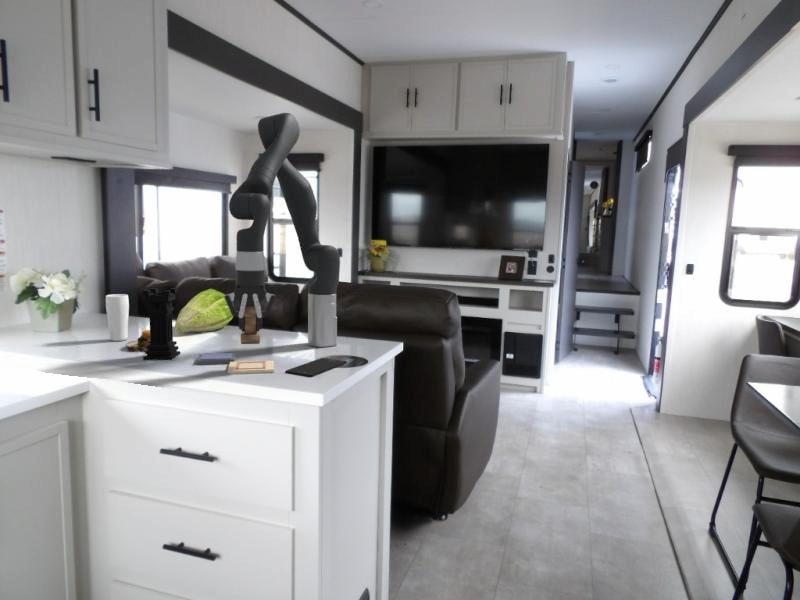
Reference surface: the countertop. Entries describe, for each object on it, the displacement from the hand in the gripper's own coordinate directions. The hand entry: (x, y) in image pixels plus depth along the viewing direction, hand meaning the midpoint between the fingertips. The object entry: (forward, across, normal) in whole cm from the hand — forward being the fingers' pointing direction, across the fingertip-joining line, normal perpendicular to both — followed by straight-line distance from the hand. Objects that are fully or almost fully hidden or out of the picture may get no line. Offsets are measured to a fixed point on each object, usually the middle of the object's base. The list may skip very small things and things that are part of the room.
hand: (250, 330), depth 152 cm
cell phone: (+11, -18, +1) cm, 21 cm away
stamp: (+3, 0, 0) cm, 3 cm away
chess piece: (+11, +26, -17) cm, 33 cm away
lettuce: (+11, +20, -58) cm, 62 cm away
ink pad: (+11, +10, -10) cm, 17 cm away
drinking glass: (+11, +44, -43) cm, 62 cm away
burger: (+11, +33, -30) cm, 46 cm away
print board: (+11, 0, 0) cm, 11 cm away
